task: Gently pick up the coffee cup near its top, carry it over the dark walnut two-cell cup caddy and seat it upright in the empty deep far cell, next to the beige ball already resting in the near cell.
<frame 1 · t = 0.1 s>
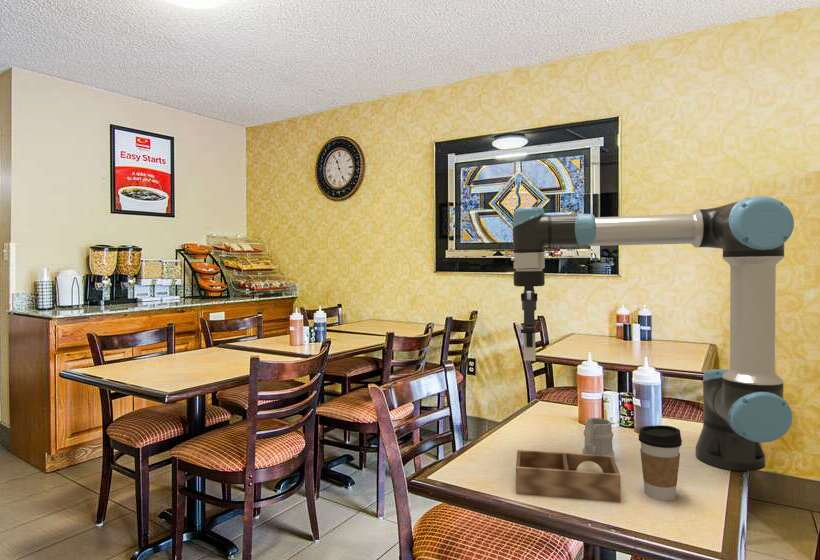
hand: (529, 355, 130), 28 cm above the table, fingers open, 13 cm apart
beige ball: (589, 488, 115), point 1 cm above the table, touching caddy
mug: (595, 462, 133), on the table
coffee cup: (660, 498, 112), on the table
caddy: (565, 490, 117), on the table
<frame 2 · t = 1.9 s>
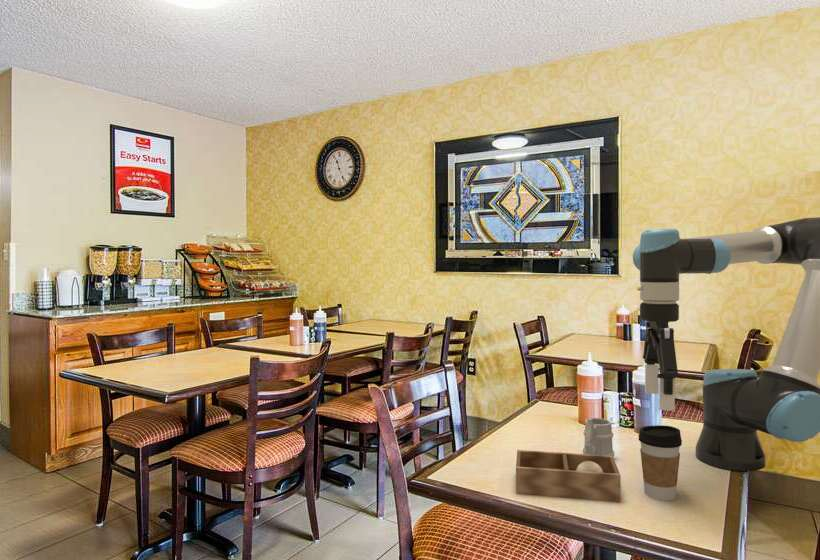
hand: (658, 401, 111), 21 cm above the table, fingers open, 13 cm apart
nothing on the table moved.
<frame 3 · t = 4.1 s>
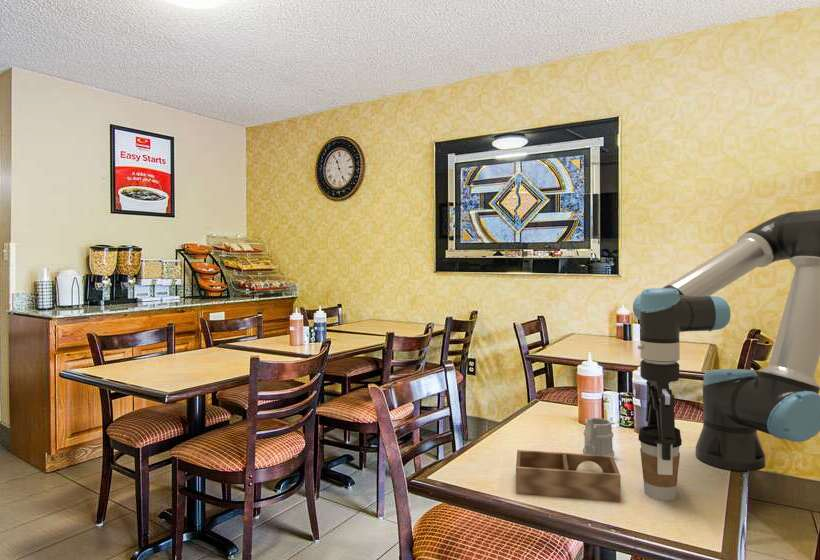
hand: (659, 465, 112), 7 cm above the table, fingers closed on coffee cup, 8 cm apart
coffee cup: (659, 498, 112), on the table, touching gripper
everything else where it was.
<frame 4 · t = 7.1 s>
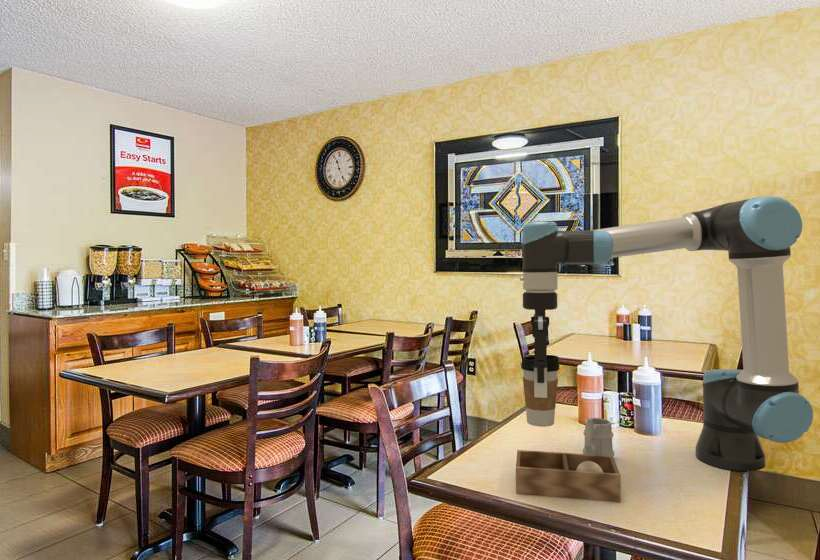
hand: (540, 391, 117), 22 cm above the table, fingers closed on coffee cup, 8 cm apart
coffee cup: (540, 423, 117), point 15 cm above the table, touching gripper
everything else where it was.
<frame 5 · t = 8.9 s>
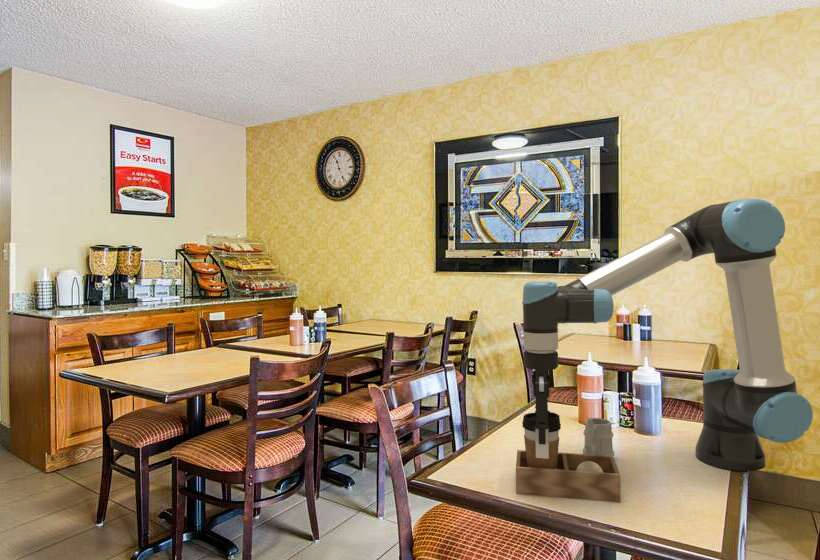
hand: (541, 450, 117), 9 cm above the table, fingers closed on coffee cup, 8 cm apart
coffee cup: (542, 481, 118), point 2 cm above the table, touching gripper
everything else where it was.
when the fingers open (9 cm above the table, at t = 10.1 s): coffee cup stays where it is, resting on caddy.
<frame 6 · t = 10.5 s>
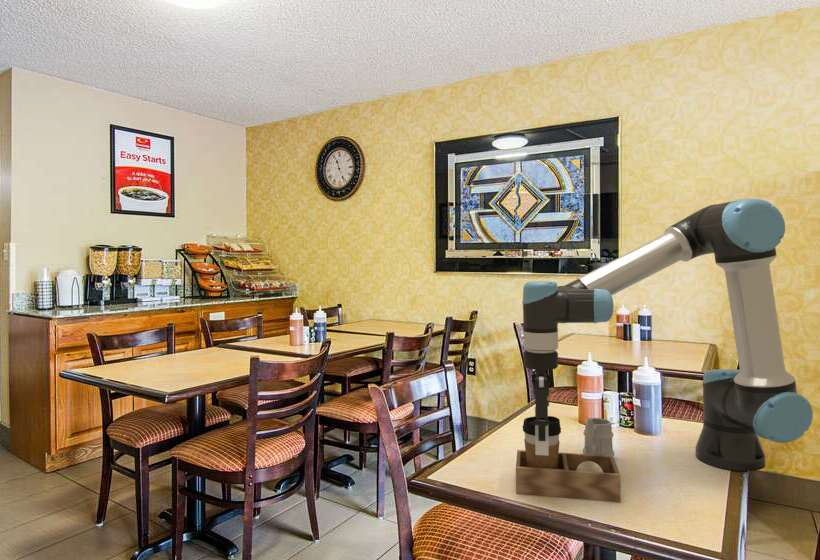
hand: (541, 443, 117), 10 cm above the table, fingers open, 13 cm apart
coffee cup: (542, 485, 118), point 1 cm above the table, touching caddy
everything else where it was.
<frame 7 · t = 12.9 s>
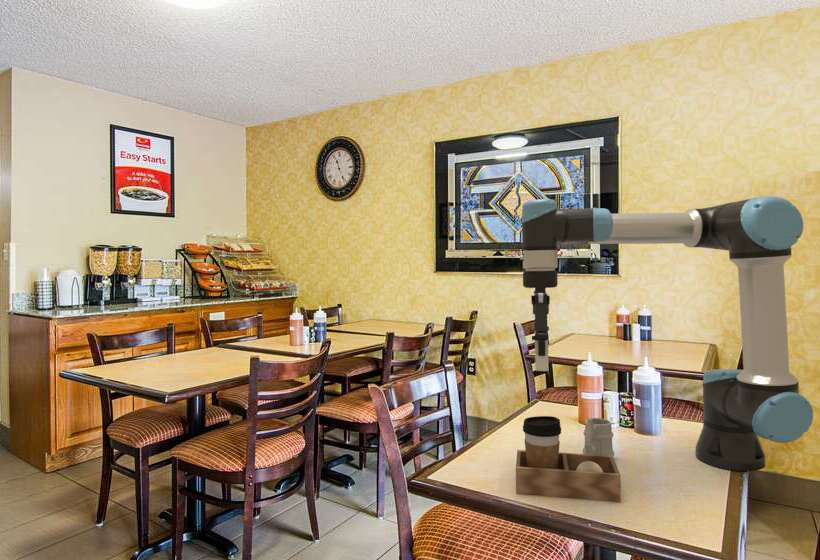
hand: (541, 364, 117), 28 cm above the table, fingers open, 13 cm apart
nothing on the table moved.
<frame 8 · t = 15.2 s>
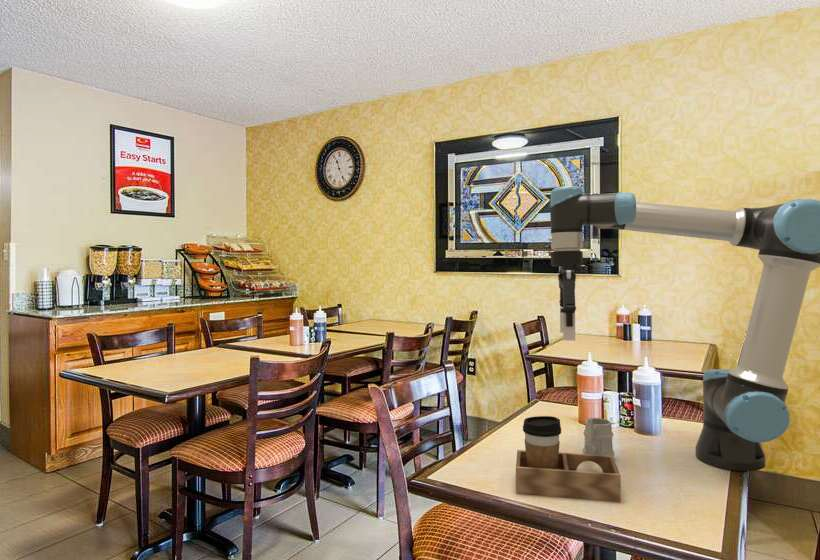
hand: (567, 336, 129), 33 cm above the table, fingers open, 13 cm apart
nothing on the table moved.
at the end: coffee cup inside the target area on the caddy (0.2 cm from its centre), point 0.6 cm above the caddy's base; coffee cup tilted 0°; the gripper is holding nothing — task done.
